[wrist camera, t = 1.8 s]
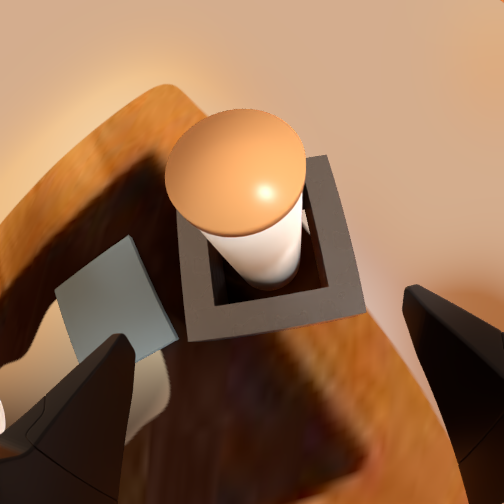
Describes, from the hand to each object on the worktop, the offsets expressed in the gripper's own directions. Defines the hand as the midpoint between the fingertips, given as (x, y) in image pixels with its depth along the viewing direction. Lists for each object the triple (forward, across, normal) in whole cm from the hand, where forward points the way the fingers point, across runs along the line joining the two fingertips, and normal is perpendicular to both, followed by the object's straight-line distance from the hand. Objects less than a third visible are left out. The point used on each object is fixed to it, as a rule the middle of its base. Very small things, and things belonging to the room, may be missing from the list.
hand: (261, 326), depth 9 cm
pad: (+10, +13, +6) cm, 18 cm away
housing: (+12, 0, +5) cm, 13 cm away
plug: (+12, 0, +5) cm, 13 cm away
